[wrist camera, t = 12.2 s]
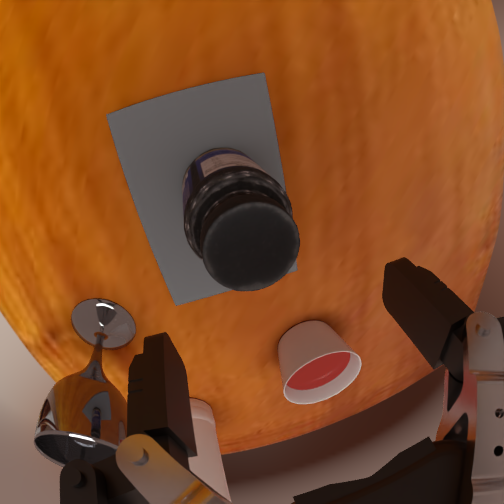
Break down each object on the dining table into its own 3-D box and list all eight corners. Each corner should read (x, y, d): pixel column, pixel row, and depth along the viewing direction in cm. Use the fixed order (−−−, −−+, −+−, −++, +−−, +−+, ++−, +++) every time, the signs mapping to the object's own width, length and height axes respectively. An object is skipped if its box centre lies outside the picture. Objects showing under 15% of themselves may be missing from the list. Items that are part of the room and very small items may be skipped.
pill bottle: (227, 233, 26) (258, 321, 16) (166, 194, 23) (158, 269, 14) (274, 175, 24) (337, 235, 15) (214, 129, 21) (243, 158, 12)
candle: (263, 325, 33) (280, 369, 27) (339, 302, 34) (365, 339, 28) (272, 372, 37) (286, 412, 32) (337, 352, 38) (357, 387, 33)
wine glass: (105, 361, 31) (95, 481, 18) (53, 318, 26) (17, 443, 14) (155, 332, 30) (159, 467, 17) (101, 281, 26) (69, 424, 13)
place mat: (107, 114, 19) (106, 114, 19) (262, 73, 20) (264, 72, 20) (175, 301, 29) (175, 305, 28) (295, 267, 30) (297, 270, 29)
